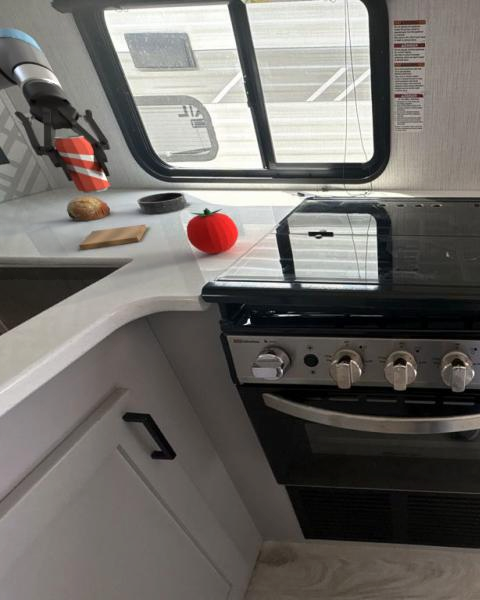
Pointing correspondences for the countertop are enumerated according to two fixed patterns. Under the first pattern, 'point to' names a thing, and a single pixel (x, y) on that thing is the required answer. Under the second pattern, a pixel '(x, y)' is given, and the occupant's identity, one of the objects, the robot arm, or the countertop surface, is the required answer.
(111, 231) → the board
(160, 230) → the countertop surface
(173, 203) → the pan
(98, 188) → the beverage can
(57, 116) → the robot arm
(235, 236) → the tomato
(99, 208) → the bread roll
